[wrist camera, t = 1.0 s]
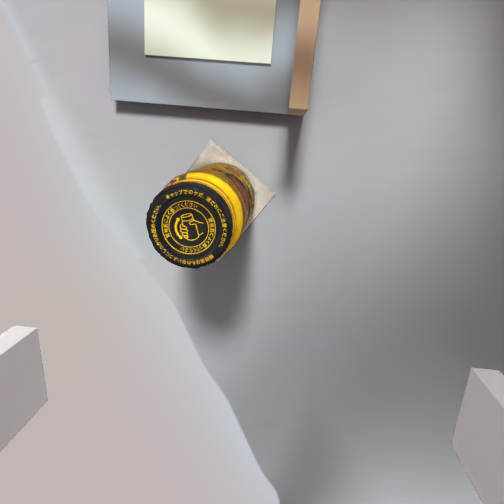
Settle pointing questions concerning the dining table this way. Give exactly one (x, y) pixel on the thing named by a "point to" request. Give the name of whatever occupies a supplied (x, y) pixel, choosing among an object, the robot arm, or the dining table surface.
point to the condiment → (205, 209)
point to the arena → (214, 53)
